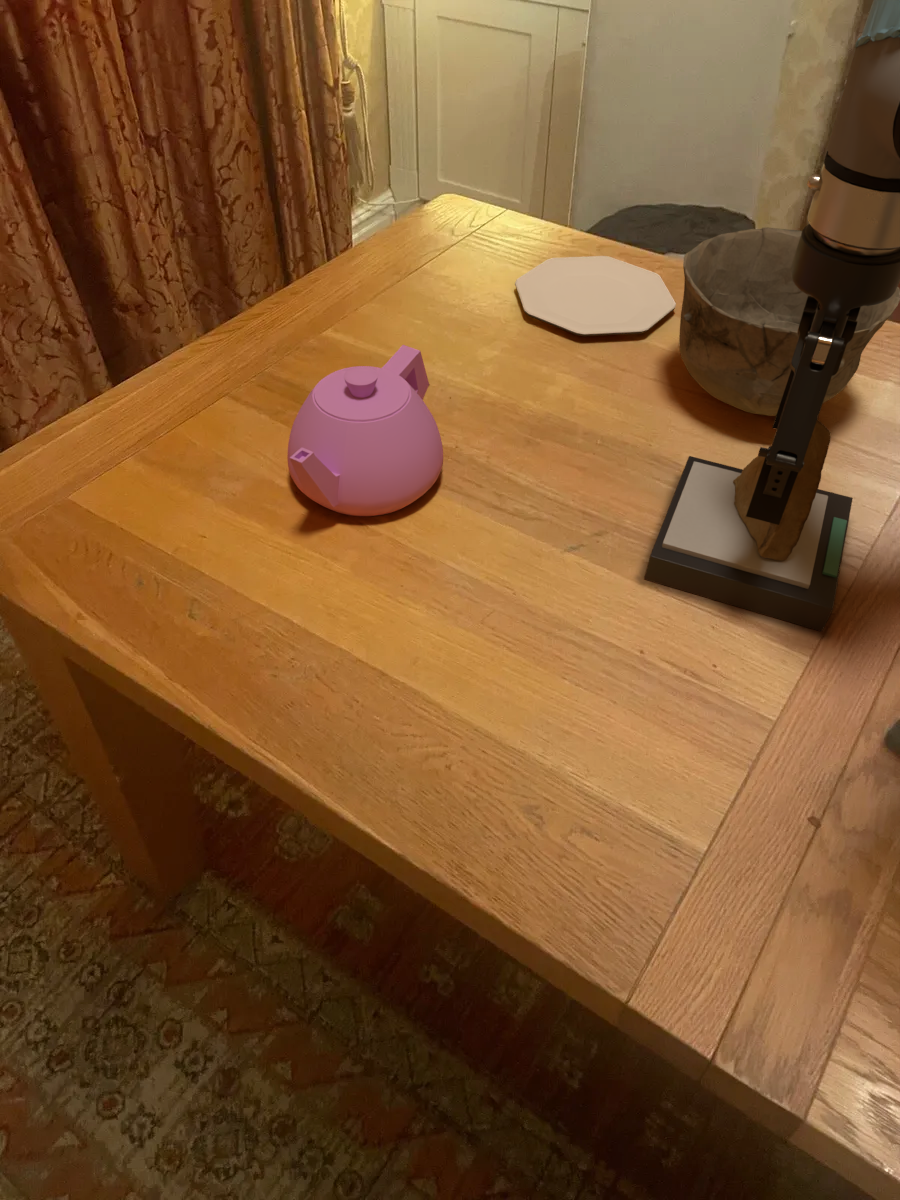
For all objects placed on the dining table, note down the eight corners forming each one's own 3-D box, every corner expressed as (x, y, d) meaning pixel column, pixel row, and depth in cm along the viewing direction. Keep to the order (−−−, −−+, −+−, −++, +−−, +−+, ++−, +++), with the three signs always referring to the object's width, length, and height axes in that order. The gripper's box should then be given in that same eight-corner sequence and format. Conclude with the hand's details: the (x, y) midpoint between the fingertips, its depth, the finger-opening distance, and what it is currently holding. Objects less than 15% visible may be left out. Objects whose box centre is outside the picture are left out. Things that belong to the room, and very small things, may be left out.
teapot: (359, 400, 102) (352, 301, 93) (482, 441, 97) (487, 341, 89) (239, 513, 89) (219, 410, 80) (375, 567, 84) (369, 464, 75)
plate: (696, 298, 120) (698, 287, 118) (619, 360, 109) (621, 349, 108) (570, 253, 128) (571, 242, 127) (487, 307, 117) (488, 296, 116)
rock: (821, 565, 77) (861, 490, 81) (781, 486, 73) (825, 413, 78) (712, 571, 85) (754, 504, 90) (671, 501, 82) (717, 434, 86)
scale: (842, 520, 90) (855, 492, 87) (821, 632, 79) (835, 604, 77) (683, 478, 94) (690, 450, 91) (644, 579, 84) (651, 551, 81)
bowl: (792, 482, 94) (841, 354, 83) (619, 398, 103) (641, 274, 92) (884, 394, 105) (937, 271, 94) (719, 326, 115) (750, 207, 104)
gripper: (825, 162, 73) (757, 388, 88) (777, 301, 57) (703, 548, 72) (923, 178, 71) (836, 406, 86) (902, 326, 55) (799, 574, 70)
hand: (775, 471), depth 79 cm, fingers open, 13 cm apart
